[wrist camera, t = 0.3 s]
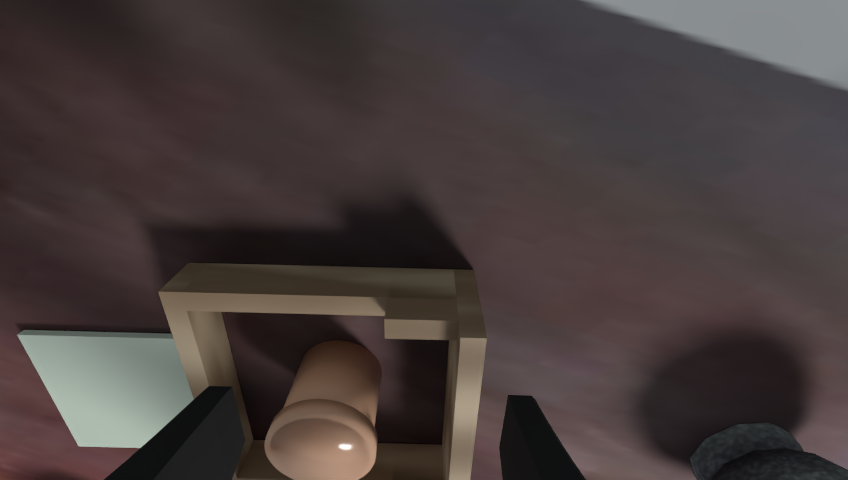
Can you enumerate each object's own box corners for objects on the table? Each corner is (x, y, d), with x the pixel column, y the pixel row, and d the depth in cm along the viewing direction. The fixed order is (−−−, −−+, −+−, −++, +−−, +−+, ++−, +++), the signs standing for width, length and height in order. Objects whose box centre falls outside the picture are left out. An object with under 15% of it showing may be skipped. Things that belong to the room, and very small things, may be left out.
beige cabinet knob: (387, 404, 24) (377, 487, 20) (301, 402, 24) (273, 485, 20) (385, 337, 22) (373, 415, 18) (290, 335, 22) (255, 412, 18)
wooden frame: (456, 455, 26) (462, 541, 22) (240, 449, 26) (202, 534, 22) (474, 270, 20) (487, 338, 15) (188, 262, 20) (119, 329, 15)
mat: (223, 444, 26) (220, 449, 26) (83, 440, 26) (78, 446, 26) (190, 334, 22) (186, 339, 22) (23, 329, 22) (17, 334, 22)
